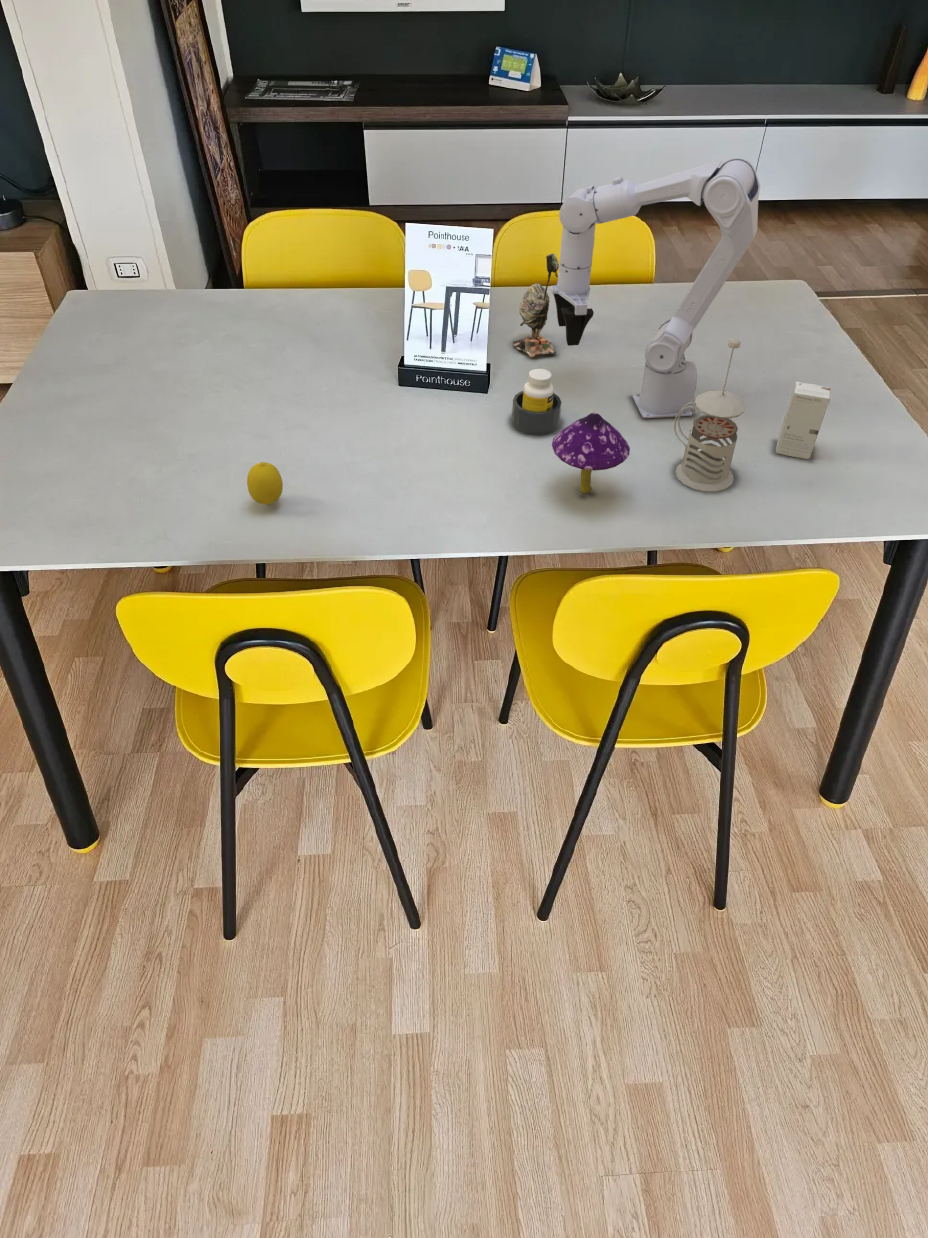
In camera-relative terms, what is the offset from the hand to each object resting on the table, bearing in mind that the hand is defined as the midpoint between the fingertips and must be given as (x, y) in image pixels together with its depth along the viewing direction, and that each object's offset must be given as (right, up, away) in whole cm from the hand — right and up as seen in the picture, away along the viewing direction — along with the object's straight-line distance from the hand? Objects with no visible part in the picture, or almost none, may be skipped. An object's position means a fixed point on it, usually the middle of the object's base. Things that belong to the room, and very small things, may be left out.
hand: (568, 334), depth 176 cm
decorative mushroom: (+1, -32, -19) cm, 37 cm away
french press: (+21, -28, -14) cm, 38 cm away
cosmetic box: (+39, -23, -8) cm, 46 cm away
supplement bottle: (-6, -17, -4) cm, 19 cm away
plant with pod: (-5, +3, +19) cm, 19 cm away
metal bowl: (-6, -17, -3) cm, 18 cm away
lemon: (-51, -35, -23) cm, 66 cm away
